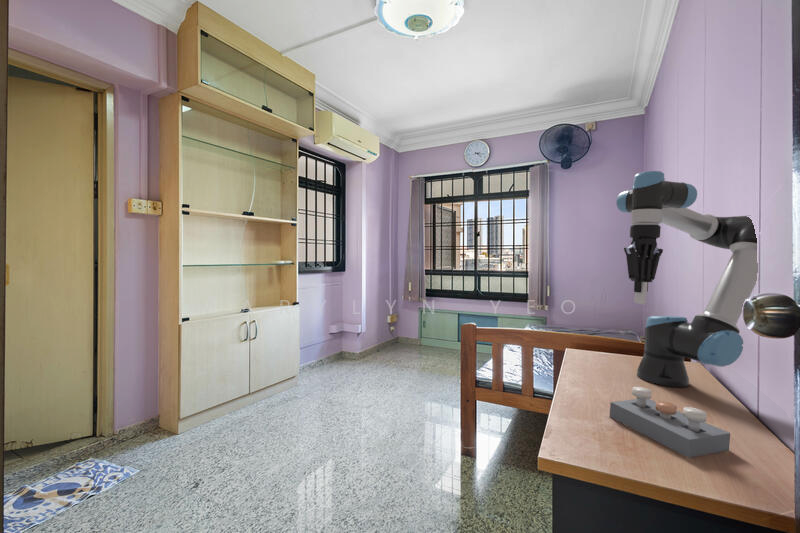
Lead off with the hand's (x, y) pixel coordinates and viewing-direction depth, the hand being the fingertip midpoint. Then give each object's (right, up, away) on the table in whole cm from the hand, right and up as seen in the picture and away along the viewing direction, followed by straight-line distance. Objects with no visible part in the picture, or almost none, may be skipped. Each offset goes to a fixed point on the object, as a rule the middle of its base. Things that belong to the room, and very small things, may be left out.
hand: (639, 303), depth 109 cm
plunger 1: (-9, -27, -13) cm, 31 cm away
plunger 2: (-5, -27, -26) cm, 38 cm away
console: (-7, -30, -19) cm, 36 cm away
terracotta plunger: (-7, -28, -19) cm, 35 cm away
